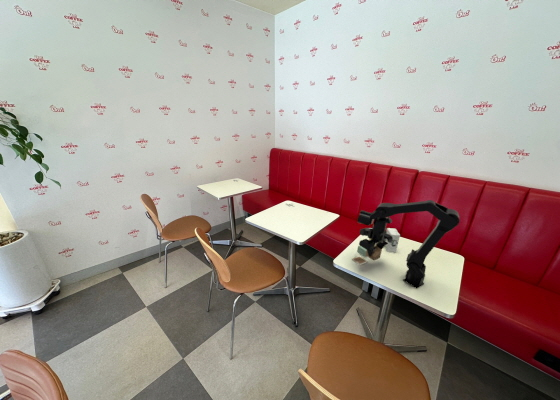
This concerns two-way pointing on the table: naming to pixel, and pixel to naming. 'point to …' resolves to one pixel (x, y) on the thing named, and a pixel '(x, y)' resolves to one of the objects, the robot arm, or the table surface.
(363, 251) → the base block
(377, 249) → the walnut cube
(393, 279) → the table surface
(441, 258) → the table surface
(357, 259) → the swatch
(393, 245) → the ink box
